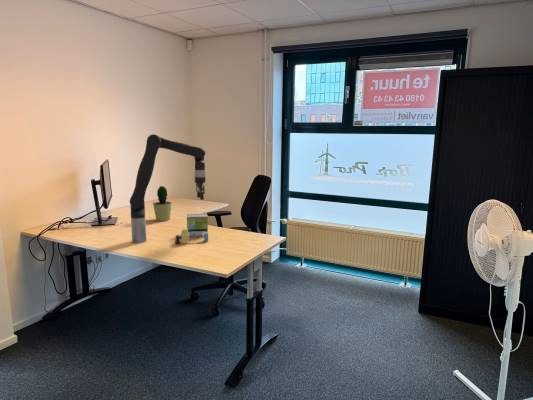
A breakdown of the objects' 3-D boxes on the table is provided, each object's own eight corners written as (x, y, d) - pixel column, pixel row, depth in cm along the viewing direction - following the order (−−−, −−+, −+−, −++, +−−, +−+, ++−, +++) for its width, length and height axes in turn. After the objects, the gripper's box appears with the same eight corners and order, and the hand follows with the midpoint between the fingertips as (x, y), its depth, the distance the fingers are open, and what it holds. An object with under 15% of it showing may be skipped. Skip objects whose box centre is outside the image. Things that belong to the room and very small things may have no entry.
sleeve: (181, 241, 253) (181, 230, 252) (181, 239, 258) (180, 228, 256) (189, 241, 255) (188, 229, 253) (188, 239, 259) (188, 228, 258)
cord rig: (176, 244, 252) (175, 236, 251) (175, 242, 258) (174, 233, 256) (208, 242, 259) (208, 233, 258) (207, 239, 264) (207, 231, 263)
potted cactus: (151, 219, 323) (149, 185, 317) (168, 217, 332) (166, 183, 327) (157, 222, 311) (156, 187, 305) (175, 220, 320) (173, 185, 315)
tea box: (187, 236, 272) (186, 216, 269) (187, 233, 281) (186, 213, 279) (208, 235, 274) (207, 216, 272) (207, 232, 284) (206, 213, 281)
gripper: (192, 175, 269) (192, 197, 272) (197, 177, 256) (197, 200, 259) (202, 174, 272) (202, 196, 275) (208, 177, 259) (208, 200, 262)
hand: (200, 198), depth 267 cm, fingers open, 8 cm apart
